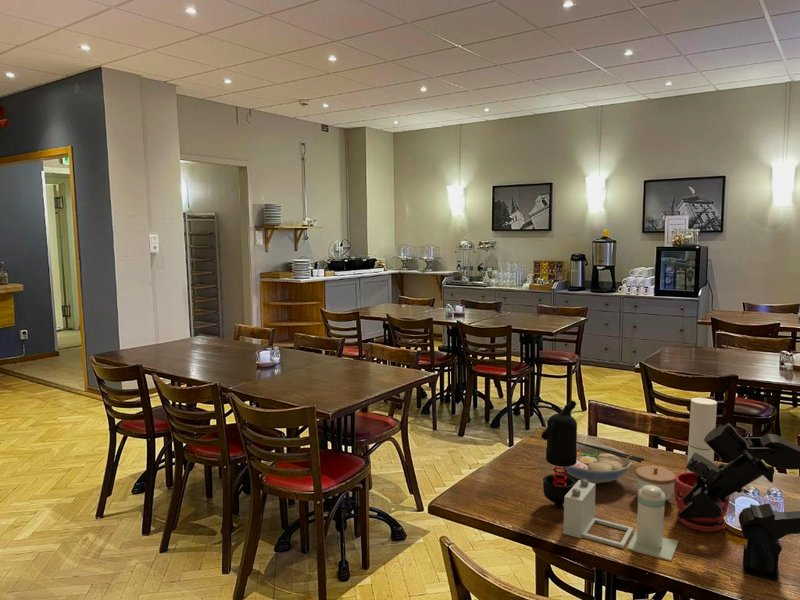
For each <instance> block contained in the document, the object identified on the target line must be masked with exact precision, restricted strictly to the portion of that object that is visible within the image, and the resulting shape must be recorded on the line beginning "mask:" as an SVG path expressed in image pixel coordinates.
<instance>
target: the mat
mask: <svg viewBox="0 0 800 600" xmlns="http://www.w3.org/2000/svg"><path fill="white" fill-rule="evenodd" d="M636 537H637V529H636V530H635V532H634V534H633V536H632V537H631V539H630V541H629V543H628V545H627V547H626V550H629V551H633V552H636V553H640V554H644V555H647V556H650V557H655V558H657V559H660V560H661V559H662V560H665V561H669V562H672V561H673V560H672V559H673V557H674V555H675V552H676V549H677V547H678V544H679V541H678V540H674V539H672V538H671V539H670V538H668V537H664V536H663V544H662V547H661V548H659V549H648V548H645V547H642V546H640V545H639V544H638V543H637V541H636Z"/></svg>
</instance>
